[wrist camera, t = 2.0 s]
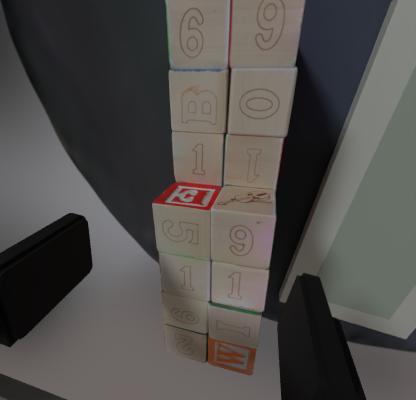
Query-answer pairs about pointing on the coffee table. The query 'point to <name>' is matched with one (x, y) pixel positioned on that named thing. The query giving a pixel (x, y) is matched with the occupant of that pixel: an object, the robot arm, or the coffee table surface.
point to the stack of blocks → (223, 171)
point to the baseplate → (370, 194)
